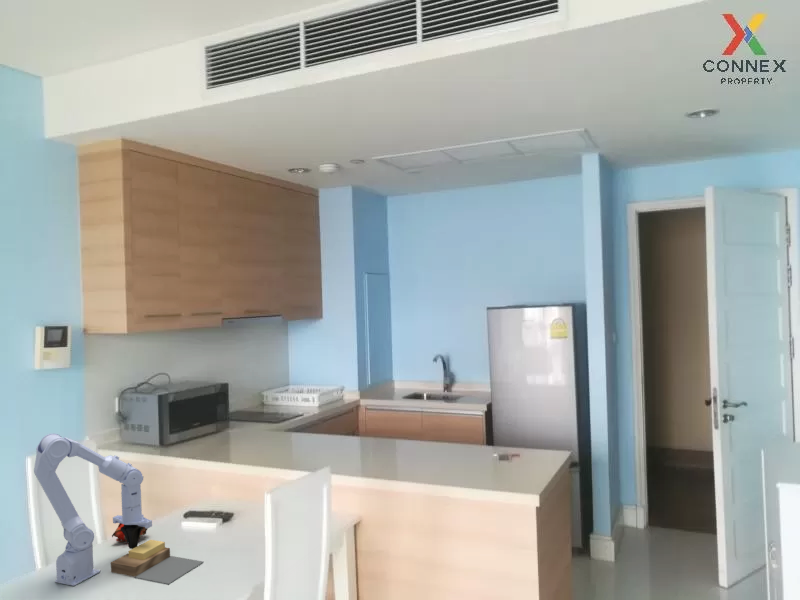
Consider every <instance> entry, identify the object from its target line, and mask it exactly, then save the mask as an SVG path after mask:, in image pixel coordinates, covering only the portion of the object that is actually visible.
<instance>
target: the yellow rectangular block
mask: <svg viewBox="0 0 800 600" xmlns="http://www.w3.org/2000/svg"><path fill="white" fill-rule="evenodd" d="M165 547H166V542H165V541H161V540H155V539H149V540H147V541H145V542H143V543H142V544H141V543H140V544H138V545H137V547H135V548H133V549H129V550H128V553H127V554H129V558H134V559H140V560H145V559H146V558H148V557H150V556H152V555H154V554H155V553H157V552H159V551H161V550H163V549H164V548H165Z"/></svg>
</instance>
